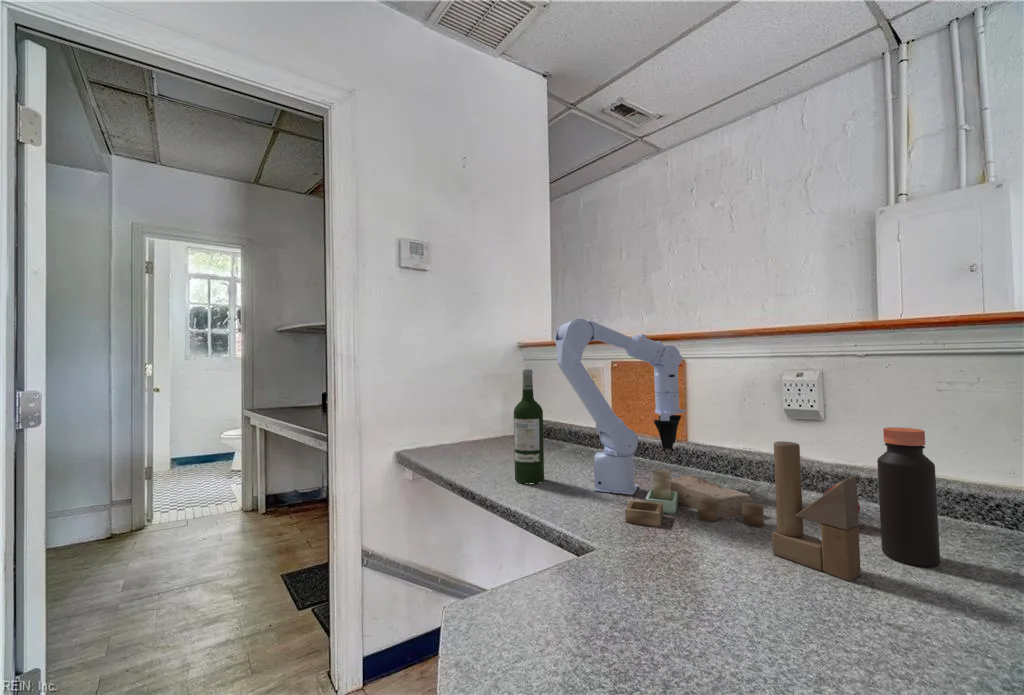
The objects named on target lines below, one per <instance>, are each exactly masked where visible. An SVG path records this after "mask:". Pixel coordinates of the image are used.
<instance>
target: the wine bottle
mask: <svg viewBox="0 0 1024 695" xmlns="http://www.w3.org/2000/svg"><path fill="white" fill-rule="evenodd" d="M521 374H522V392H521V394H522V395H521V396H522V398H521V400H520V401H519V402H518V403H517V404H516V405H515V407H514V409H513V443H514V444H513V446H514V449H513V450H514V453H513V454H514V455H513V456H514V480H516V481H517V482H519V483H518V484H520V483H526V484H525V485H529V483H539V482H541V483H543V482H544V481H545V462H544V461H545V457H544V456H545V455H544V454H545V453H544V414H543V413H544V411H543V408H542V406H541V405H540V404H539V403H538V402H537V401H536V400H535V398H534V385H533V384H534V382H533V369H529V368H528V369H522V373H521ZM516 481H515V482H516ZM542 481H543V482H542ZM517 482H516V483H517ZM527 483H528V484H527ZM539 484H540V483H539Z"/></svg>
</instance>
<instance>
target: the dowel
mask: <svg viewBox="0 0 1024 695" xmlns="http://www.w3.org/2000/svg"><path fill="white" fill-rule="evenodd" d="M652 474H653V475H652V479H653V482H652V483H653V484H652V485H653V488H652V489H653V491H654V499H658V500H667V501H671V478H672V477H671V475H672V473H671V471H670V470H666V469H655V470H652Z"/></svg>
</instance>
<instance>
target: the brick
mask: <svg viewBox="0 0 1024 695" xmlns="http://www.w3.org/2000/svg"><path fill="white" fill-rule="evenodd" d="M671 491H676V492H678V501H679V502H678V503H680V504H683V505H686V506H688V507H690V508H693V509H696V510H698V505H697V499H699V498H710V499H714V500H716V501H717V515H718V518H720V519H722V520H729V519H728V518H731V519H734V518H733V517H735V518H739V517H738V516H740V517H742V503H745V502H751V500H752V498H751V495H750V494H748V493H746V492H745V493H744V492H741V491H739V490H737V489H733V488H727V487H722V486H720V485H718V484H717V483H716V482H715V483H714V482H711V481H709V480H707V479H704V478H701V477H699V476H696V475H685V476H681V477H677V478H672V479H671Z"/></svg>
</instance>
